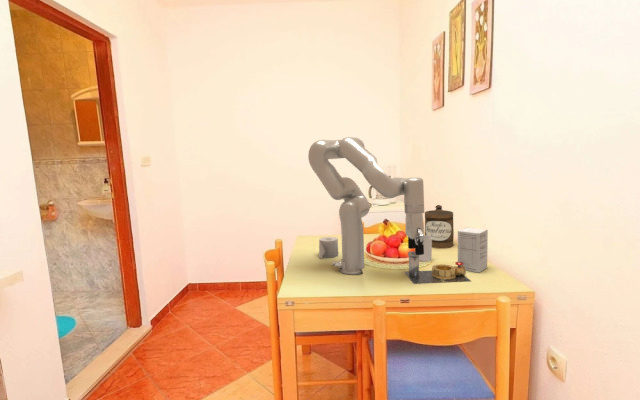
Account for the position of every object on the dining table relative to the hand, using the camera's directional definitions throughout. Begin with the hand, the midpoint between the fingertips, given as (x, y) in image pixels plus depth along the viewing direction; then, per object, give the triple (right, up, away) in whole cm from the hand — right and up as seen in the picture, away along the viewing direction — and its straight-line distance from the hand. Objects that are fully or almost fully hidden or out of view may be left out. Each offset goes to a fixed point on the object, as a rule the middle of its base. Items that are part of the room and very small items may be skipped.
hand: (415, 251), depth 140 cm
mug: (+10, -8, +23) cm, 26 cm away
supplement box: (+27, -9, +11) cm, 31 cm away
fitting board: (+8, -11, -1) cm, 14 cm away
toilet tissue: (-34, -8, +38) cm, 52 cm away
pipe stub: (0, -10, +2) cm, 10 cm away
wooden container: (+26, -4, +51) cm, 58 cm away
